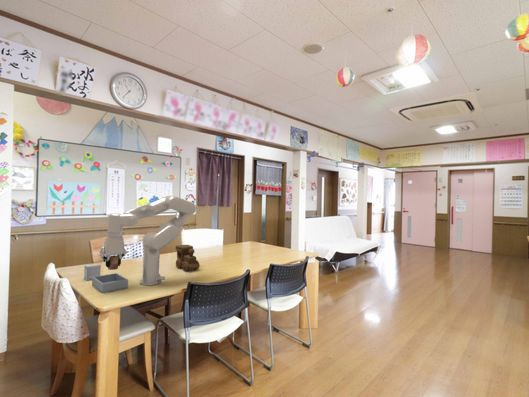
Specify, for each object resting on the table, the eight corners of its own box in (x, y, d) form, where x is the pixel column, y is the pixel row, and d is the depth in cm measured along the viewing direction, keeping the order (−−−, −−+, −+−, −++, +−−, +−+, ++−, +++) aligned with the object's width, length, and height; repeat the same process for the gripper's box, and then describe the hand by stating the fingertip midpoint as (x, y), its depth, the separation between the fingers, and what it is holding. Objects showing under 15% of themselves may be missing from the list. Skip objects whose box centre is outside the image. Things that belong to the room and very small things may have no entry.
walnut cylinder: (119, 267, 162) (120, 255, 162) (115, 269, 157) (116, 257, 157) (110, 267, 162) (111, 255, 162) (106, 269, 157) (107, 257, 157)
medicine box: (97, 276, 181) (98, 263, 181) (100, 278, 178) (100, 264, 178) (83, 279, 175) (84, 265, 174) (86, 280, 172) (86, 267, 172)
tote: (92, 285, 164) (92, 277, 164) (116, 280, 174) (116, 272, 174) (102, 293, 152) (102, 284, 152) (127, 288, 162) (128, 279, 162)
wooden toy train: (173, 267, 212) (174, 245, 211) (186, 264, 220) (187, 244, 220) (187, 273, 198) (188, 249, 198) (200, 270, 206) (201, 248, 206)
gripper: (127, 233, 168) (125, 263, 168) (96, 235, 156) (94, 267, 156) (132, 234, 163) (131, 265, 163) (100, 237, 151) (99, 270, 151)
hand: (113, 266), depth 160 cm, fingers closed on walnut cylinder, 5 cm apart
